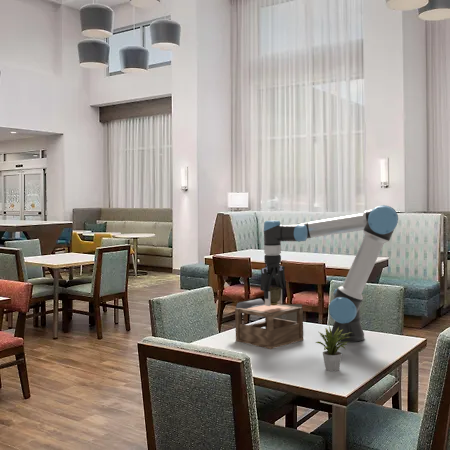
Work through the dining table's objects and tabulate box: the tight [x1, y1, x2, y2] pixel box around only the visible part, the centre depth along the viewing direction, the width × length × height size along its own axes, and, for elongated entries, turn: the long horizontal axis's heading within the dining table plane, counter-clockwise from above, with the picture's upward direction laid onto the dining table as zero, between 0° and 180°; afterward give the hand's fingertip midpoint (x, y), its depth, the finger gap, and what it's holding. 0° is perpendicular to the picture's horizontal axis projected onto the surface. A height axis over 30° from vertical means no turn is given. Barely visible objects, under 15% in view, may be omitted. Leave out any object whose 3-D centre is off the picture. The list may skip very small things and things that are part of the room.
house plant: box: [315, 325, 352, 372], centre depth 209 cm, size 14×14×16 cm
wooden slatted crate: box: [234, 302, 304, 350], centre depth 257 cm, size 22×22×15 cm
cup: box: [266, 286, 282, 306], centre depth 255 cm, size 8×7×8 cm
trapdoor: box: [235, 298, 290, 314], centre depth 260 cm, size 22×15×5 cm
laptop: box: [273, 303, 303, 322], centre depth 284 cm, size 18×12×13 cm
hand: (273, 304), depth 255 cm, fingers closed on cup, 7 cm apart
